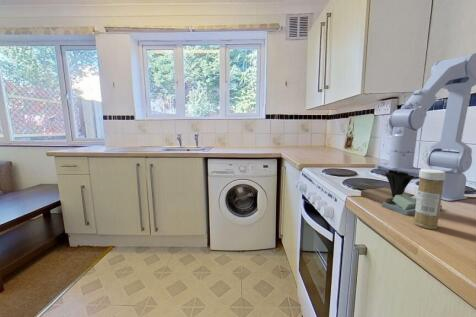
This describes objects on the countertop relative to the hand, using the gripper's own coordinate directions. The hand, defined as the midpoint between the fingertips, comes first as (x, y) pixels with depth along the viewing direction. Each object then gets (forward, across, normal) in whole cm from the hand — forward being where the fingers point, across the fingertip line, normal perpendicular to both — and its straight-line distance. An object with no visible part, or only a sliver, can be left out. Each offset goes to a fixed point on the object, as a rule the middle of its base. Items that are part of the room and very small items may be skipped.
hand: (396, 197), depth 67 cm
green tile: (+1, +2, 0) cm, 3 cm away
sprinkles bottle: (+3, +12, -6) cm, 14 cm away
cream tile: (+2, +3, +6) cm, 7 cm away
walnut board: (+3, -6, +4) cm, 7 cm away
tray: (+3, +3, +2) cm, 5 cm away
